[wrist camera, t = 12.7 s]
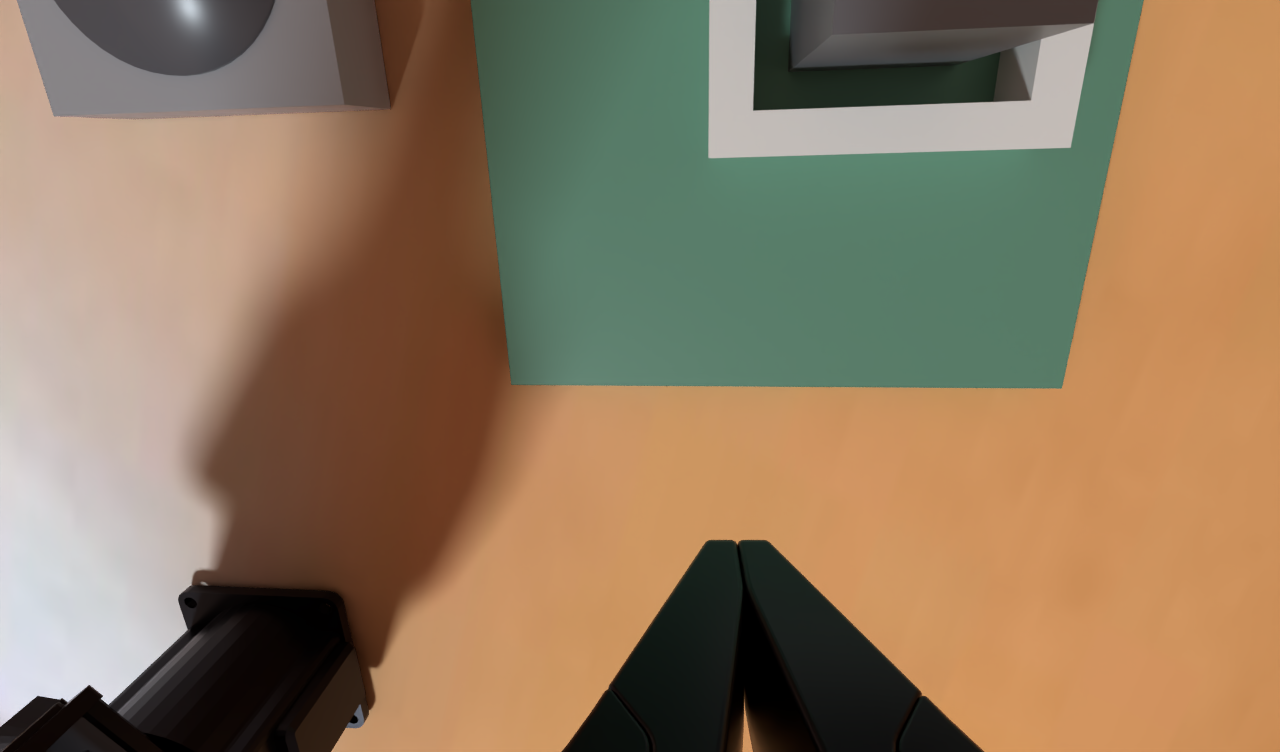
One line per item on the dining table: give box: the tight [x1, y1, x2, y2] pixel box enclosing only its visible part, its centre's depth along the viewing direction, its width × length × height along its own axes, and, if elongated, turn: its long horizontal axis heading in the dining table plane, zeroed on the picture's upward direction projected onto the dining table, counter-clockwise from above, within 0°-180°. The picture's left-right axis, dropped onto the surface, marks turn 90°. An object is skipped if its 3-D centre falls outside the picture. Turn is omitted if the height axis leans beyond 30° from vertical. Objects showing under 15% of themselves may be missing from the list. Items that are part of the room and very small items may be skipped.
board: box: [471, 0, 1144, 388], centre depth 15 cm, size 16×18×3 cm
